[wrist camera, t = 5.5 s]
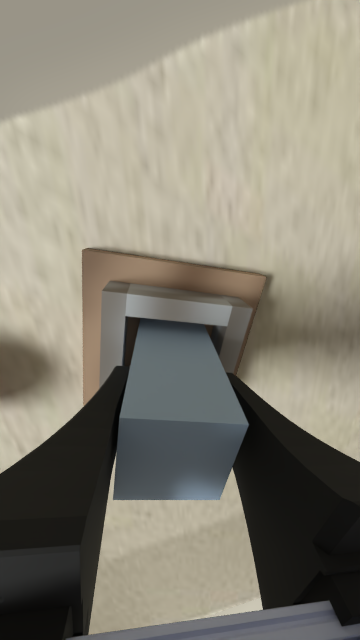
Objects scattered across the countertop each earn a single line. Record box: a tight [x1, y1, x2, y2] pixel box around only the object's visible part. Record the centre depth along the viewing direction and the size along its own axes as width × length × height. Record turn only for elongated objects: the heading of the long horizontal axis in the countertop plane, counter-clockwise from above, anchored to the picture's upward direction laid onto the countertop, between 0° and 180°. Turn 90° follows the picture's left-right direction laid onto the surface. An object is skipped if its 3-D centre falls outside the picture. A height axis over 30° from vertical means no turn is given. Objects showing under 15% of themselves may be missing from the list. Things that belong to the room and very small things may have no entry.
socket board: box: [82, 248, 267, 406], centre depth 14 cm, size 11×11×3 cm
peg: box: [113, 318, 249, 500], centre depth 11 cm, size 4×4×8 cm
